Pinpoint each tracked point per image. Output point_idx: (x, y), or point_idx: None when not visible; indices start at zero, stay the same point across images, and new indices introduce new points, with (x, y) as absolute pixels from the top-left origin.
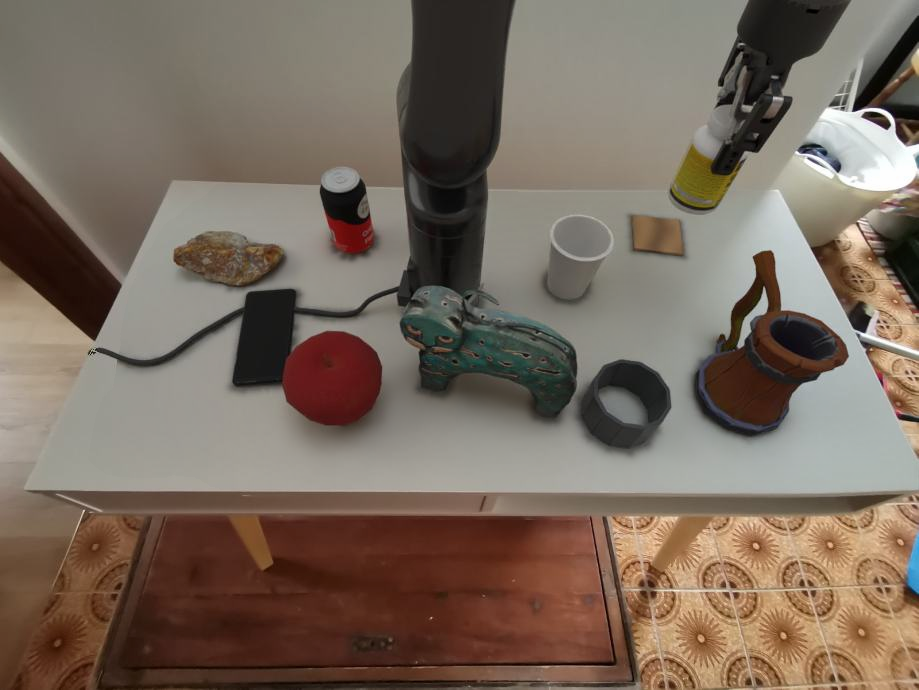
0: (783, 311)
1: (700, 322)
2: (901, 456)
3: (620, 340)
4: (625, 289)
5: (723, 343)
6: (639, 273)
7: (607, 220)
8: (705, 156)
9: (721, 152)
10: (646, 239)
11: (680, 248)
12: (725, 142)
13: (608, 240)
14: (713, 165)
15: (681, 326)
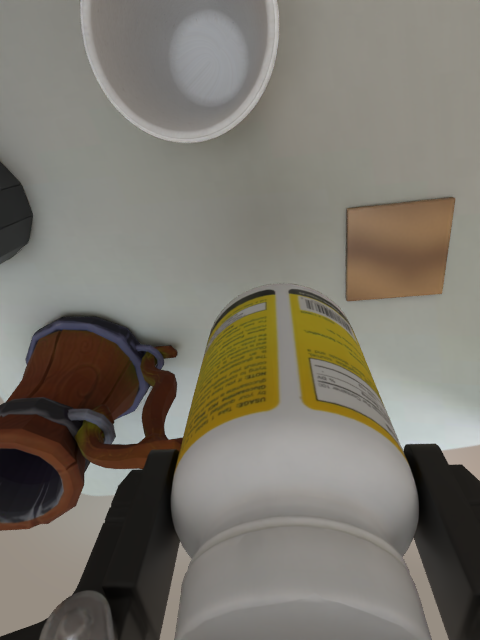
0: (62, 467)
1: (203, 324)
2: (100, 493)
3: (115, 200)
4: (236, 199)
5: (154, 355)
6: (284, 224)
7: (437, 139)
8: (187, 451)
9: (119, 535)
10: (377, 232)
11: (360, 296)
12: (114, 584)
13: (203, 127)
14: (146, 470)
15: (184, 297)
